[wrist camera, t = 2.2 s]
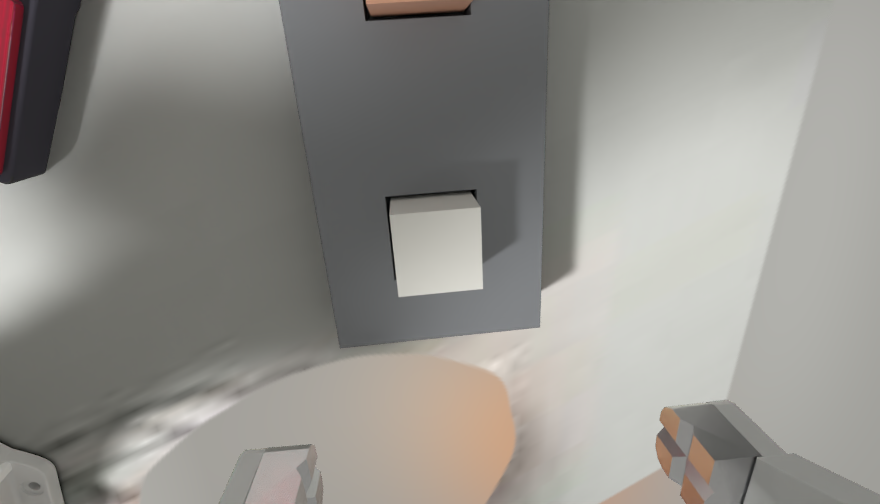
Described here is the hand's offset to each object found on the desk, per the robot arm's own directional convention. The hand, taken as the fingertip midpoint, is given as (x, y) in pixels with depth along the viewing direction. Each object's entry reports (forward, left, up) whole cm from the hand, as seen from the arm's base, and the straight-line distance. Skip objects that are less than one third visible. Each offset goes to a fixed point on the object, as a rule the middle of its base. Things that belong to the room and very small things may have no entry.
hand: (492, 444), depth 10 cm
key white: (-1, 0, -19) cm, 19 cm away
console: (+6, 0, -22) cm, 23 cm away
